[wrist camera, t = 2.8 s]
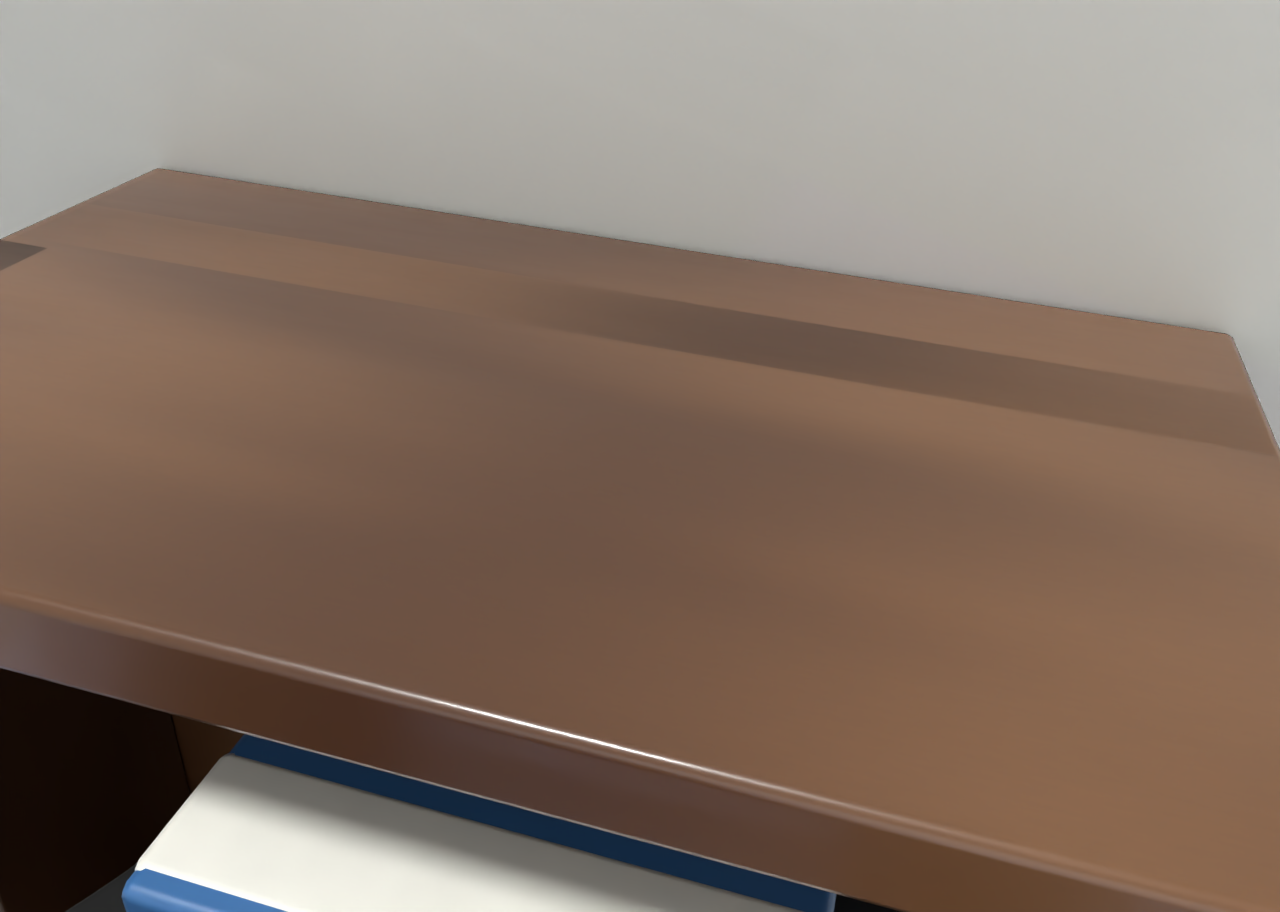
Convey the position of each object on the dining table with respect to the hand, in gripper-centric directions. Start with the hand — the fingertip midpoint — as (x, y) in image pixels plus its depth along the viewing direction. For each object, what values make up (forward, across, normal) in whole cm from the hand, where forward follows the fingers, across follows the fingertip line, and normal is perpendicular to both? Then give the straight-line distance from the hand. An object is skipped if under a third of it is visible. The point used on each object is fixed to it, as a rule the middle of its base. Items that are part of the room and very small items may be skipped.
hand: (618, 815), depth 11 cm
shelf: (+3, +1, +5) cm, 6 cm away
